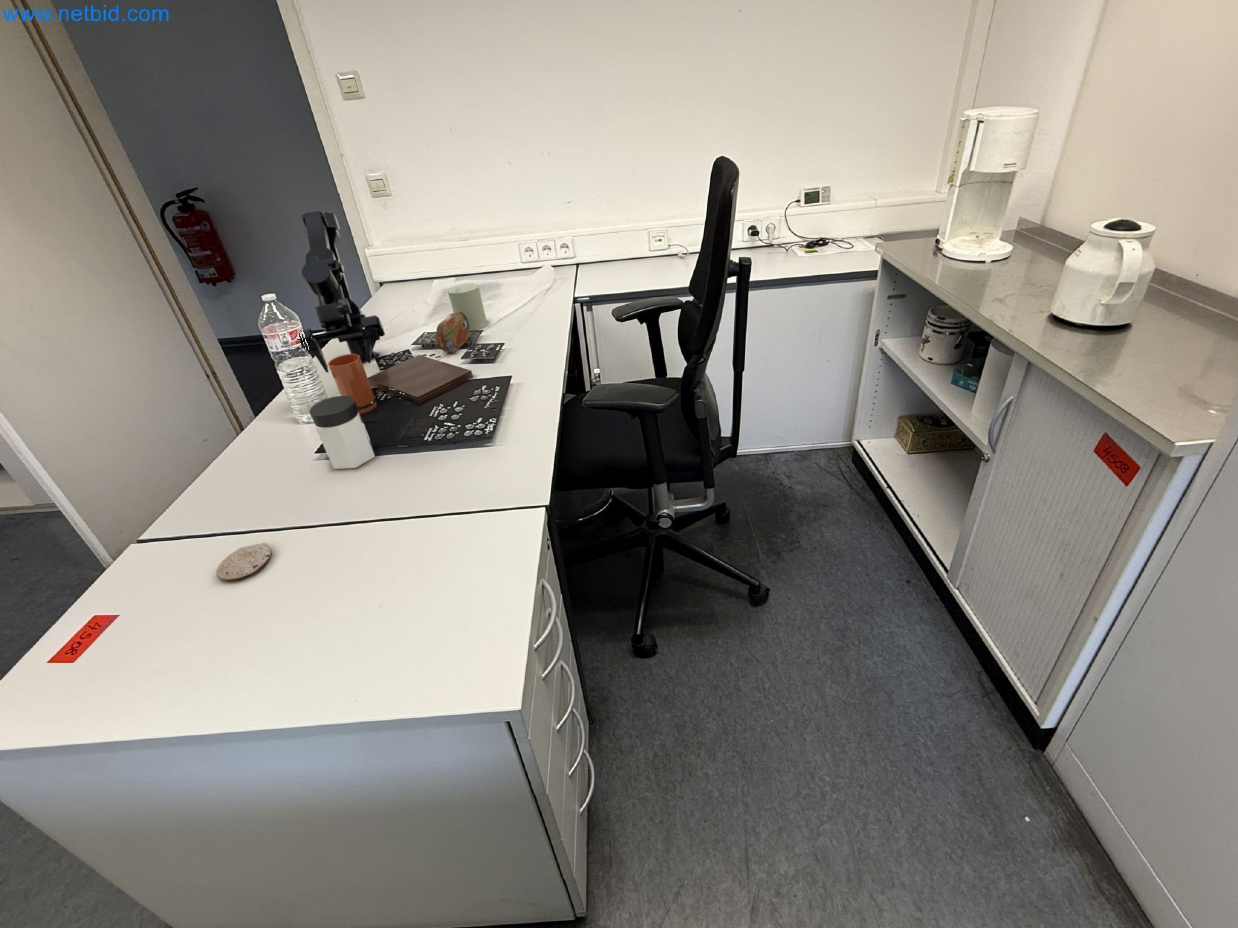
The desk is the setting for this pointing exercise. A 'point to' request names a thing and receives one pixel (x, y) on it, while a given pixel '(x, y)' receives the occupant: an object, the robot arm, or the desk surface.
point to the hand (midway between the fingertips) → (348, 367)
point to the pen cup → (352, 380)
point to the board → (420, 378)
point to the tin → (453, 332)
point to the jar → (342, 432)
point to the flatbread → (243, 561)
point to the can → (468, 304)
